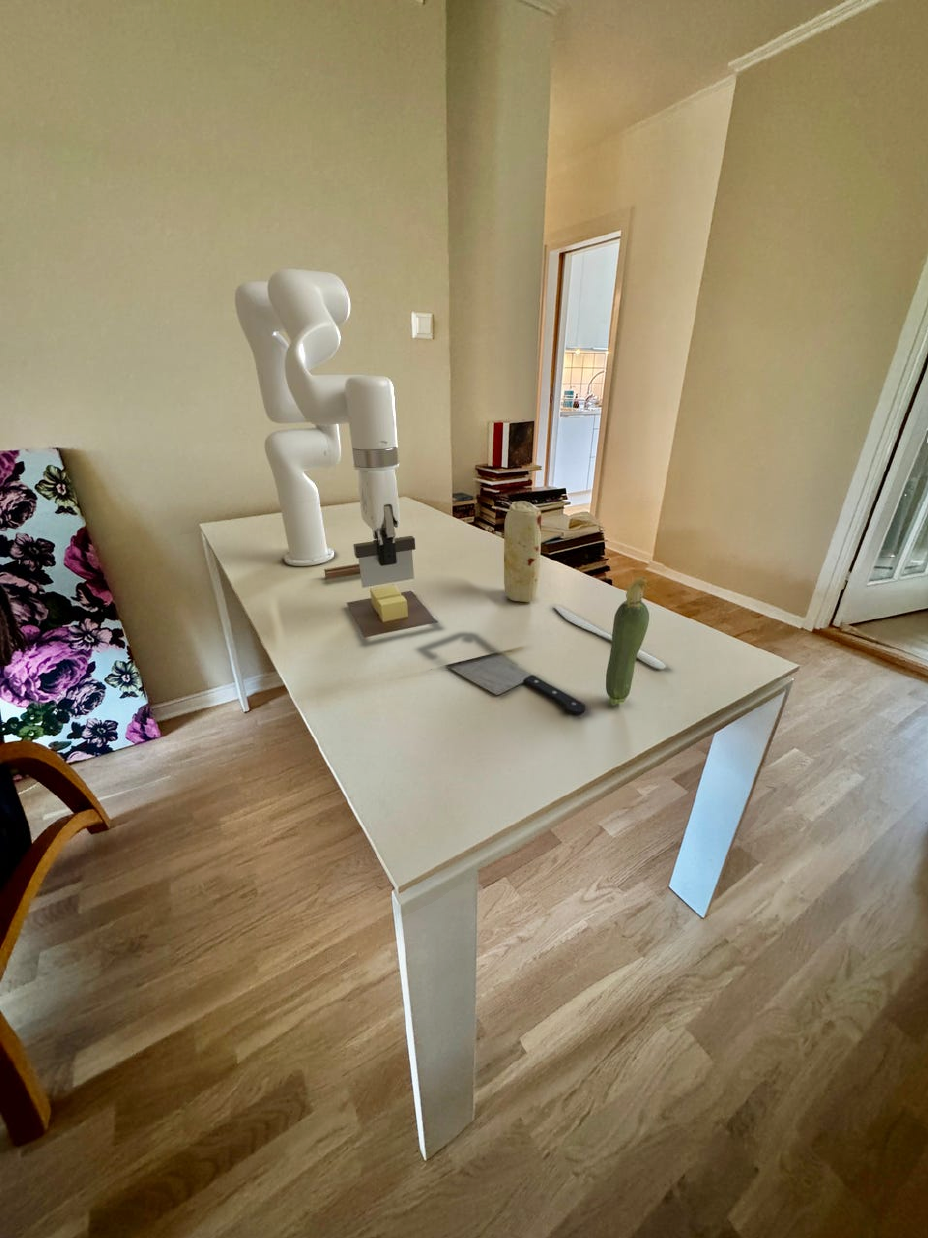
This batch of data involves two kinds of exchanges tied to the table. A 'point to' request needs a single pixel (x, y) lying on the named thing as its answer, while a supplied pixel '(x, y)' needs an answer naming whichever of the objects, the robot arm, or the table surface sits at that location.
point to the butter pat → (392, 608)
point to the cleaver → (510, 679)
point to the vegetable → (626, 642)
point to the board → (375, 626)
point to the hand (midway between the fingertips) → (386, 561)
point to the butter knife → (590, 627)
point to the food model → (522, 551)
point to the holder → (342, 571)
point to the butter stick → (383, 594)
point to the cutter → (385, 574)
